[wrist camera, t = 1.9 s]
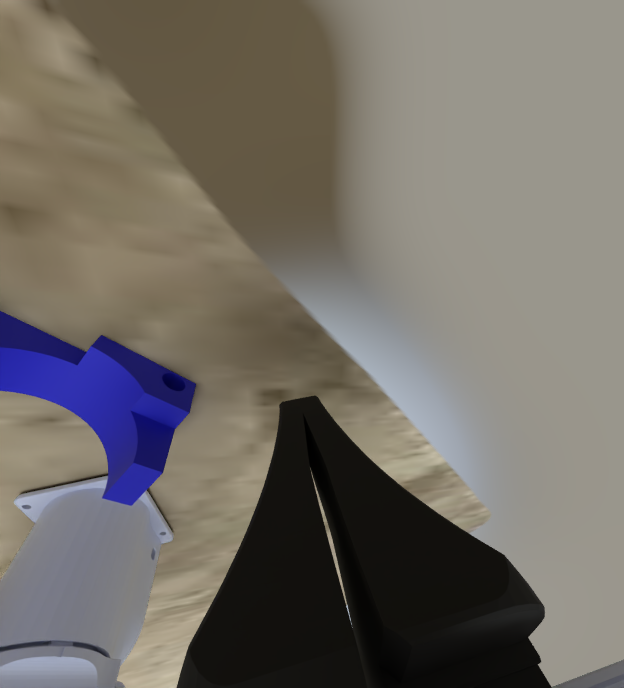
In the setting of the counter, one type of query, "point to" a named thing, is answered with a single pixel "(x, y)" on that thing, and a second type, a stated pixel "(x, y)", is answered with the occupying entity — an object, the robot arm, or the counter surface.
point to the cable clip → (102, 398)
